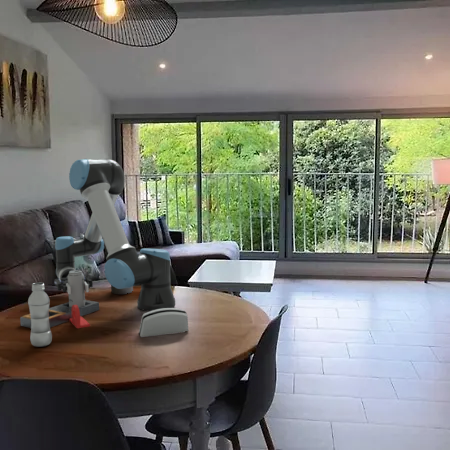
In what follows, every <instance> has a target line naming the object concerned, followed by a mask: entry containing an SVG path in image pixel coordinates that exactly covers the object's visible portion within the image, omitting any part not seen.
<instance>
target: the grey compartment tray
mask: <svg viewBox="0 0 450 450" xmlns="http://www.w3.org/2000/svg"><path fill="white" fill-rule="evenodd" d="M97 311H100V302H99V301H93V300H88V299H85V306H82V307H79V312H80V316H81V317H83V316H86V315H89V314H92V313H95V312H97ZM19 317H20V318H19V319H20V320H19V321H20V327H25V328H29V329H31V314H30V313H29V314H25V315H22V316H19ZM70 318H72V307H69V301H68V302H64V303H61V304H59V305H55V306H52V307H49V324H50V328H52V327H56V326H58V325H61V324H64V323H67V322H70V320H69V319H70Z"/></svg>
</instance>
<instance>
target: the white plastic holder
mask: <svg viewBox="0 0 450 450" xmlns="http://www.w3.org/2000/svg"><path fill="white" fill-rule="evenodd" d="M188 318H189V317H188V314H187V311H186V309H182V308H177V307H173V308H162V309H157V310H153V311H147V312H144V313H143V314H142V316H141V319H140V325H139V328H138V329H139V331H138V333H139V337H140V338H145V337H154V336H155V337H156V336H163V335H172V334H180V333H179V332H181V333H186V332H185V331H189V329H190V328H189V319H188ZM189 332H190V331H189Z"/></svg>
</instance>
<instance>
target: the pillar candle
mask: <svg viewBox="0 0 450 450" xmlns="http://www.w3.org/2000/svg"><path fill="white" fill-rule="evenodd" d="M110 287H111V288H110V291H111V294H114V295H127V293H128V294H130V293H133V292H134V286H132V287H130V288H123V289H117V288H115V287H113V286H112V285H111V284H110ZM132 291H133V292H132Z"/></svg>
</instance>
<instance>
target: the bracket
mask: <svg viewBox="0 0 450 450" xmlns="http://www.w3.org/2000/svg"><path fill="white" fill-rule="evenodd" d="M69 320H70V321H69V322H70V323H71V324H72V325H73V326H74V327H75V328H76V329H81V328H88V327H91V324H90V322H88V321H87V320H86V319H85V318H84V317H83V316H80V312H79V308H78V306H77V305H72V318H70V319H69Z"/></svg>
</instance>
